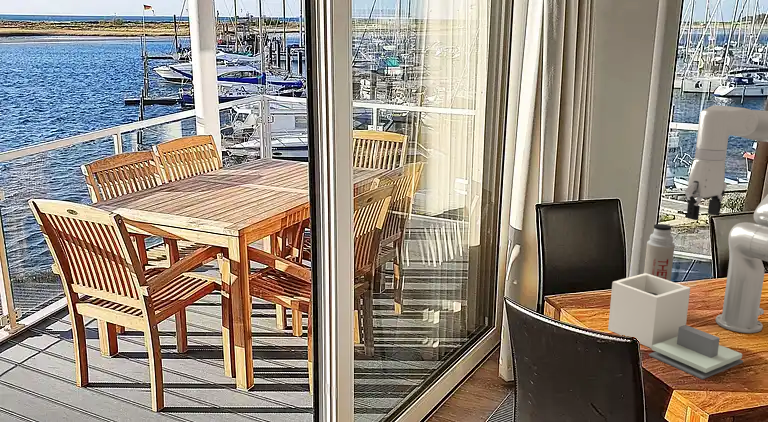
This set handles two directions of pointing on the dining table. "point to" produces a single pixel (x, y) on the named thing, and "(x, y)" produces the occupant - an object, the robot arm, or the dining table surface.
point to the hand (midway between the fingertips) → (703, 216)
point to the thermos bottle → (660, 252)
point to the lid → (697, 349)
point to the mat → (690, 369)
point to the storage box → (648, 308)
